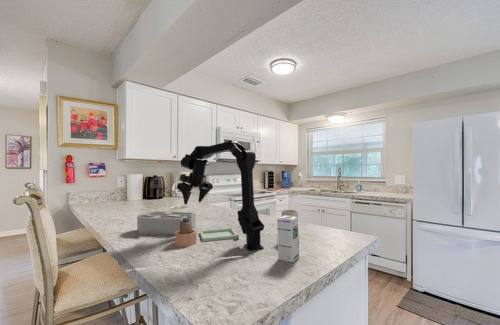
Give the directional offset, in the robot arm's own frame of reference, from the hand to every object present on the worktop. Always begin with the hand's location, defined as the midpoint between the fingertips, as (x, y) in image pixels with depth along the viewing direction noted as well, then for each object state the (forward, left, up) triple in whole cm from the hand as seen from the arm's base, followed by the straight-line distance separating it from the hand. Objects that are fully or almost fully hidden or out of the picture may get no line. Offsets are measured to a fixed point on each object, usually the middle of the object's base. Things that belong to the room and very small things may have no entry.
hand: (192, 203), depth 111 cm
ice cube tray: (+14, +14, -16) cm, 25 cm away
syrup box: (-41, -30, -16) cm, 54 cm away
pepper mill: (-14, +4, -15) cm, 21 cm away
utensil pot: (-14, +4, -15) cm, 21 cm away
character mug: (-23, -40, -16) cm, 49 cm away
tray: (-7, -11, -15) cm, 21 cm away
